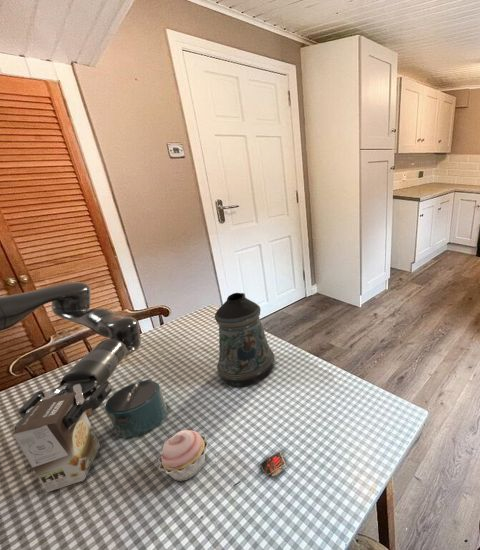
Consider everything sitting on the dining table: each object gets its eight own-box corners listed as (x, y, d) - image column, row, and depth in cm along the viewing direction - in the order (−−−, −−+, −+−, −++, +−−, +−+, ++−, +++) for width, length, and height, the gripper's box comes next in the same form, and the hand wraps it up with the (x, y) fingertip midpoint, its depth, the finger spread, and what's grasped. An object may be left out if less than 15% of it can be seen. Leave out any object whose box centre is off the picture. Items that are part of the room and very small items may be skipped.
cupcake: (159, 497, 60) (145, 462, 56) (167, 457, 68) (155, 424, 64) (211, 478, 63) (201, 444, 59) (213, 442, 71) (204, 410, 67)
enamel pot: (102, 447, 70) (90, 422, 67) (130, 403, 82) (121, 380, 80) (155, 437, 72) (146, 413, 69) (175, 395, 85) (168, 373, 82)
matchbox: (258, 466, 65) (258, 465, 65) (278, 449, 69) (278, 448, 69) (271, 480, 63) (271, 478, 62) (291, 461, 66) (291, 460, 66)
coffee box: (86, 480, 63) (55, 423, 57) (46, 493, 61) (9, 435, 55) (101, 444, 71) (76, 390, 65) (66, 454, 68) (37, 400, 62)
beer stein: (230, 397, 84) (212, 319, 75) (209, 363, 98) (192, 293, 88) (284, 370, 94) (274, 298, 85) (259, 343, 108) (248, 279, 98)
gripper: (130, 379, 76) (92, 434, 61) (63, 389, 73) (5, 449, 58) (121, 354, 73) (78, 406, 59) (50, 364, 70) (-14, 420, 55)
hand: (42, 427), depth 58 cm, fingers closed on coffee box, 7 cm apart
